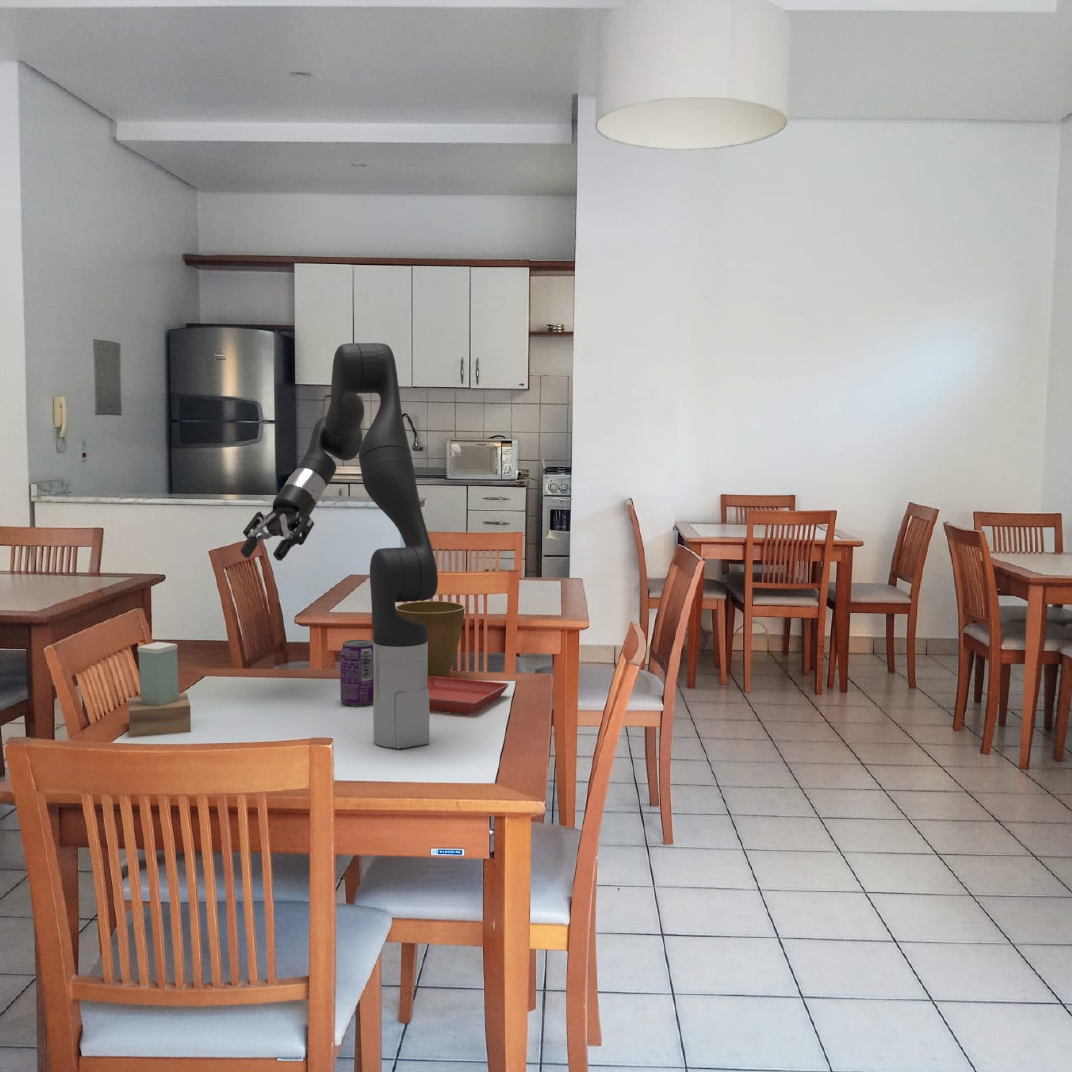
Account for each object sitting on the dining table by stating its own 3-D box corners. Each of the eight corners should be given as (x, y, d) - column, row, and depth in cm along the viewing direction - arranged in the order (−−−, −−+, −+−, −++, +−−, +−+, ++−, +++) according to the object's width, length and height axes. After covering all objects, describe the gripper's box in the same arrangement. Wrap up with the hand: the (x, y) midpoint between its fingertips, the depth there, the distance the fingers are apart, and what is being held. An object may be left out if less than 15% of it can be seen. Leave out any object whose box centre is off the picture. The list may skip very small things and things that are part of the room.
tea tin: (179, 699, 185) (177, 644, 184) (160, 706, 180) (157, 649, 179) (160, 696, 187) (157, 641, 186) (140, 703, 182) (137, 647, 181)
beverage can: (381, 698, 206) (380, 639, 205) (371, 707, 199) (371, 646, 198) (346, 697, 206) (345, 638, 205) (336, 706, 199) (335, 645, 198)
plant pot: (388, 674, 228) (388, 602, 226) (453, 669, 233) (453, 599, 232) (404, 689, 214) (404, 613, 213) (473, 684, 219) (473, 609, 218)
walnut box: (190, 733, 181) (190, 705, 181) (129, 739, 177) (129, 710, 177) (187, 719, 190) (186, 692, 190) (129, 724, 187) (128, 697, 186)
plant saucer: (429, 690, 215) (429, 674, 215) (510, 698, 209) (510, 682, 209) (388, 711, 198) (388, 694, 198) (474, 720, 192) (474, 702, 192)
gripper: (264, 482, 210) (223, 542, 201) (318, 483, 203) (278, 546, 194) (282, 506, 215) (243, 566, 206) (335, 509, 208) (297, 571, 199)
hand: (260, 556), depth 200 cm, fingers open, 8 cm apart
